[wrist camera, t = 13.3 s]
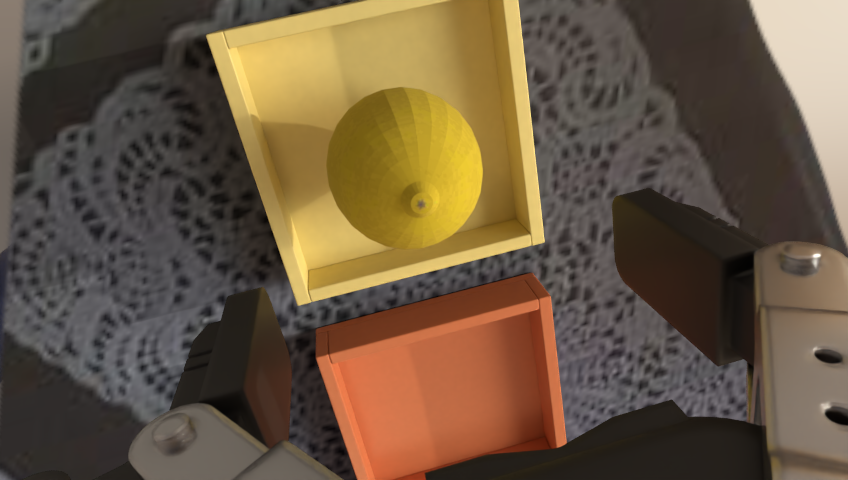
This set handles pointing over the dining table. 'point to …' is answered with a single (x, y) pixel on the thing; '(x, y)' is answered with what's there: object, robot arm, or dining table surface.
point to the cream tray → (346, 85)
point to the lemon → (404, 168)
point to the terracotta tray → (445, 380)
